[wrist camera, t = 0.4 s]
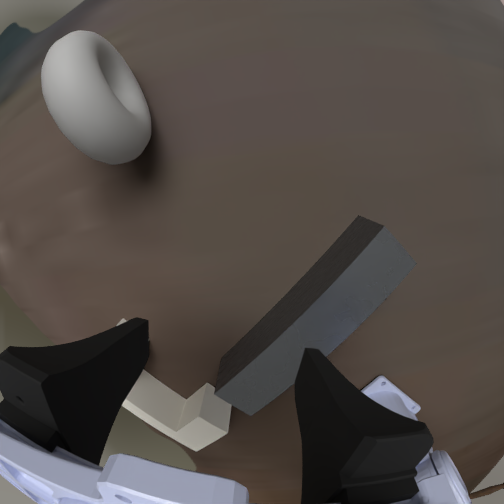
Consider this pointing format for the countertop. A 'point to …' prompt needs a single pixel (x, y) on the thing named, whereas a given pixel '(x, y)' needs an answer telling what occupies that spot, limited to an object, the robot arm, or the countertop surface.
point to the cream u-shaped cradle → (179, 411)
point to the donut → (95, 98)
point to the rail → (314, 314)
